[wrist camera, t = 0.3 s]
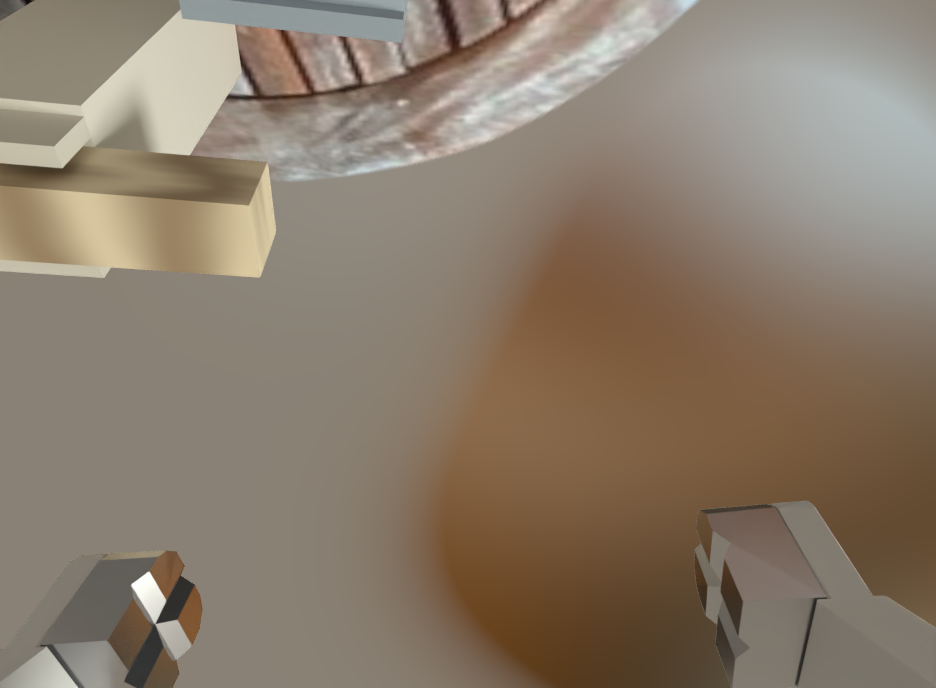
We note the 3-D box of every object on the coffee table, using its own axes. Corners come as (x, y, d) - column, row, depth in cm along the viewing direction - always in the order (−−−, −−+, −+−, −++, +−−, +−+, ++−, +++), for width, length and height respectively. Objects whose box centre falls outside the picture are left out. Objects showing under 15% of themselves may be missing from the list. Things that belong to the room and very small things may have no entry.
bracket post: (143, 62, 51) (-64, 274, 30) (116, -48, 45) (-161, 116, 24) (241, 72, 52) (107, 285, 31) (226, -35, 46) (49, 135, 25)
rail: (-134, 200, 30) (-194, 246, 27) (-184, 122, 28) (-257, 165, 25) (276, 231, 32) (260, 277, 29) (267, 162, 30) (248, 205, 27)
